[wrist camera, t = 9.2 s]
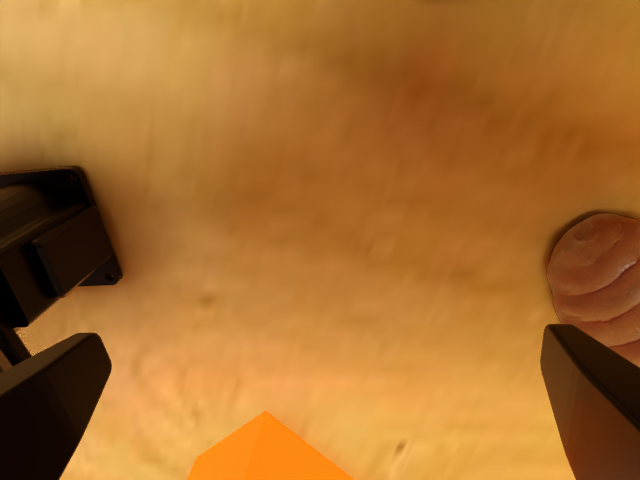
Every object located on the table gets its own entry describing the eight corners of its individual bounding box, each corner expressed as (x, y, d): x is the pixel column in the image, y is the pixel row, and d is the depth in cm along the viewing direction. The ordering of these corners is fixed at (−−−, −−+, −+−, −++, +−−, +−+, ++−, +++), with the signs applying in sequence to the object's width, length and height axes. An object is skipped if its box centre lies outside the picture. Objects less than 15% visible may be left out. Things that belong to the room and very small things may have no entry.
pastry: (499, 262, 21) (522, 309, 17) (640, 170, 18) (700, 204, 15) (605, 380, 23) (644, 442, 19) (744, 313, 20) (818, 372, 17)
